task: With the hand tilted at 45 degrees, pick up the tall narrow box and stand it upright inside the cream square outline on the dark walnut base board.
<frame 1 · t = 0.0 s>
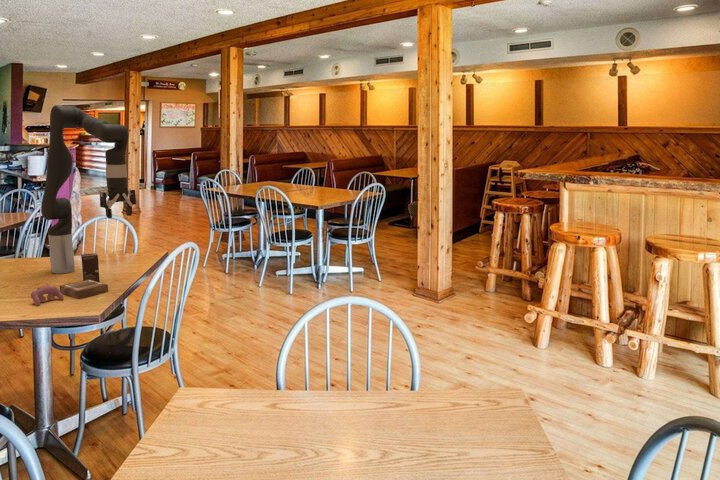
hand: (119, 216, 213), 29 cm above the table, tool pointing down, fingers open, 8 cm apart
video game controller: (47, 302, 199), on the table
base board: (84, 292, 211), on the table
box: (91, 282, 226), on the table
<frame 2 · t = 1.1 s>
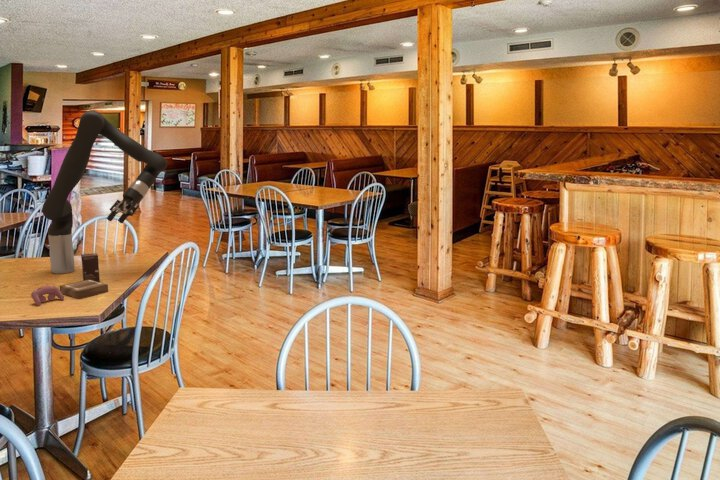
hand: (114, 221, 231), 25 cm above the table, tool tilted 45°, fingers open, 8 cm apart
nothing on the table moved.
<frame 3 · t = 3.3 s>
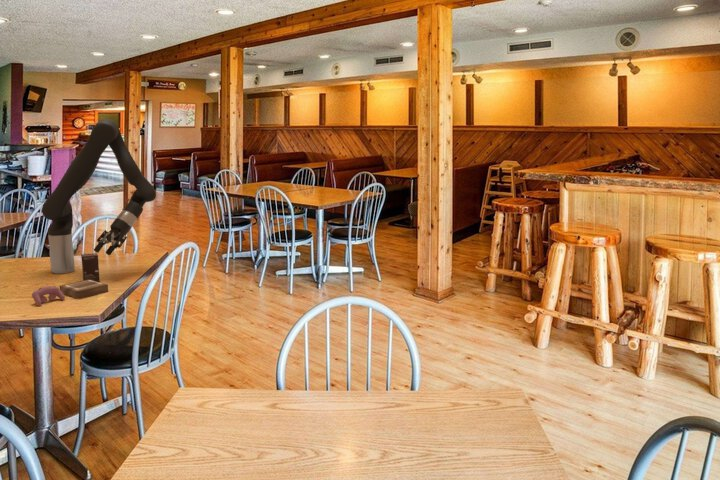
hand: (101, 252, 228), 12 cm above the table, tool tilted 45°, fingers open, 8 cm apart
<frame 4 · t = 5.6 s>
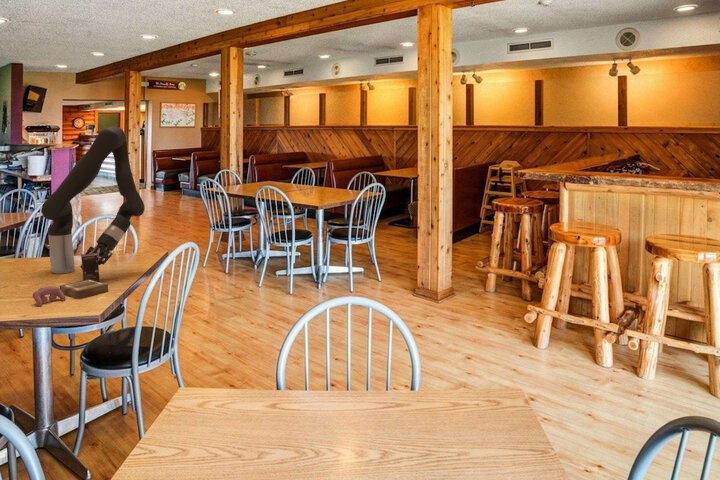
hand: (86, 269, 223), 6 cm above the table, tool tilted 45°, fingers closed on box, 6 cm apart
box: (91, 282, 226), on the table, touching gripper
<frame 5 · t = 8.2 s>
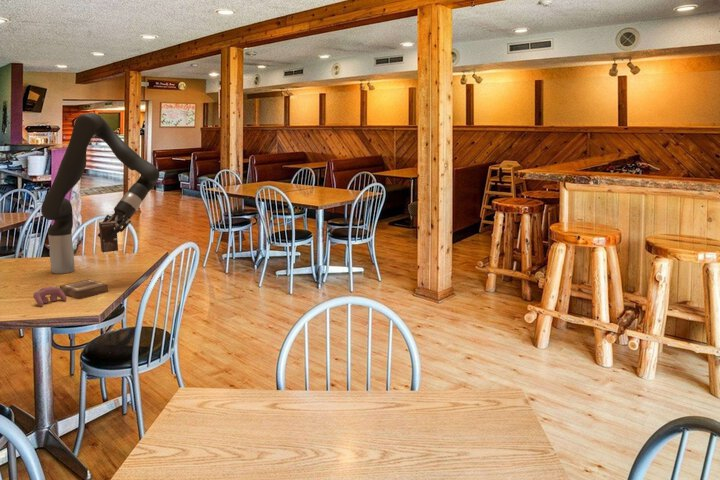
hand: (104, 237, 216), 20 cm above the table, tool tilted 45°, fingers closed on box, 5 cm apart
box: (110, 251, 219), point 14 cm above the table, touching gripper
when the fingers open (10 cm above the table, at t = 11.7 s): box stays where it is, resting on base board.
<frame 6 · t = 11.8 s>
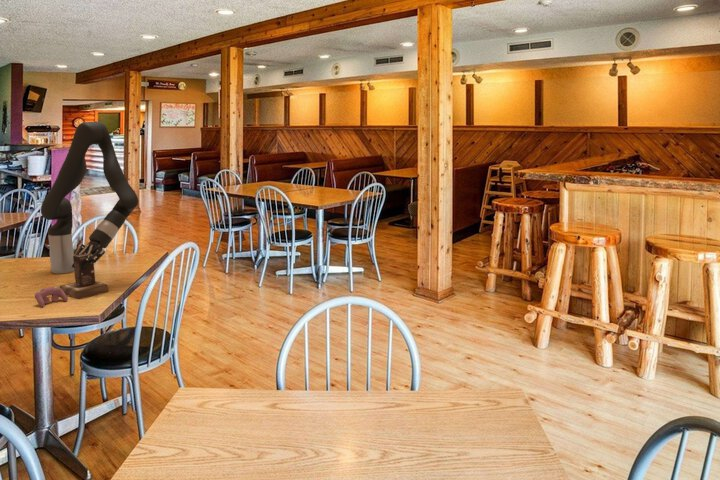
hand: (77, 268, 208), 10 cm above the table, tool tilted 45°, fingers open, 4 cm apart
box: (86, 285, 211), point 3 cm above the table, touching base board, gripper
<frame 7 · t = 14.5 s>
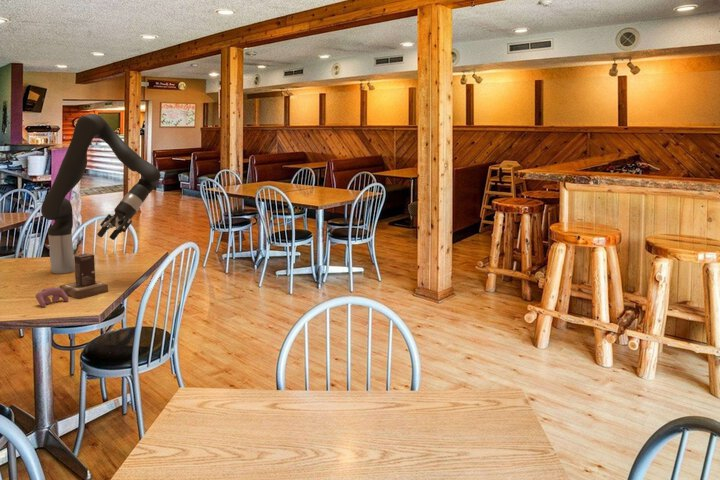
hand: (105, 237, 216), 21 cm above the table, tool tilted 45°, fingers open, 8 cm apart
box: (86, 285, 211), point 3 cm above the table, touching base board
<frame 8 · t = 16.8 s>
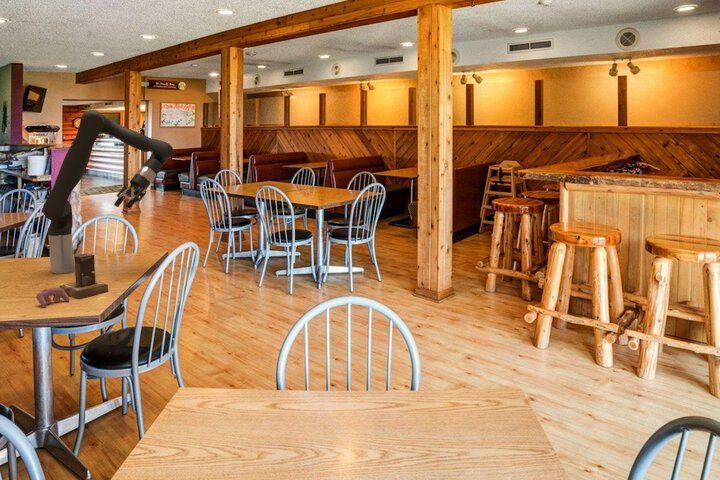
hand: (121, 206, 232), 31 cm above the table, tool tilted 45°, fingers open, 8 cm apart
at the end: box inside the target area on the base board (0.9 cm from its centre), point 2.8 cm above the base board's base; box tilted 0°; the gripper is holding nothing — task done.
